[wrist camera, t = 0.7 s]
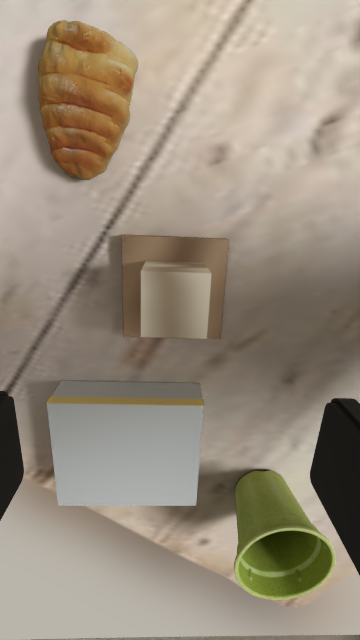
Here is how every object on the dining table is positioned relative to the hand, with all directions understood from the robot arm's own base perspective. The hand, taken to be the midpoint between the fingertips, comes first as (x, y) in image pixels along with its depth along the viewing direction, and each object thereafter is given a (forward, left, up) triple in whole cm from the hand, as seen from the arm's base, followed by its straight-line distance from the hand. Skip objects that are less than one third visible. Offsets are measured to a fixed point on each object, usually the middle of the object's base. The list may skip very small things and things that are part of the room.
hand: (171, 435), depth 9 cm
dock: (+4, +16, -20) cm, 26 cm away
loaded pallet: (0, 0, -21) cm, 21 cm away
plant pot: (-11, +24, -21) cm, 34 cm away
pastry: (+6, -14, -21) cm, 26 cm away
